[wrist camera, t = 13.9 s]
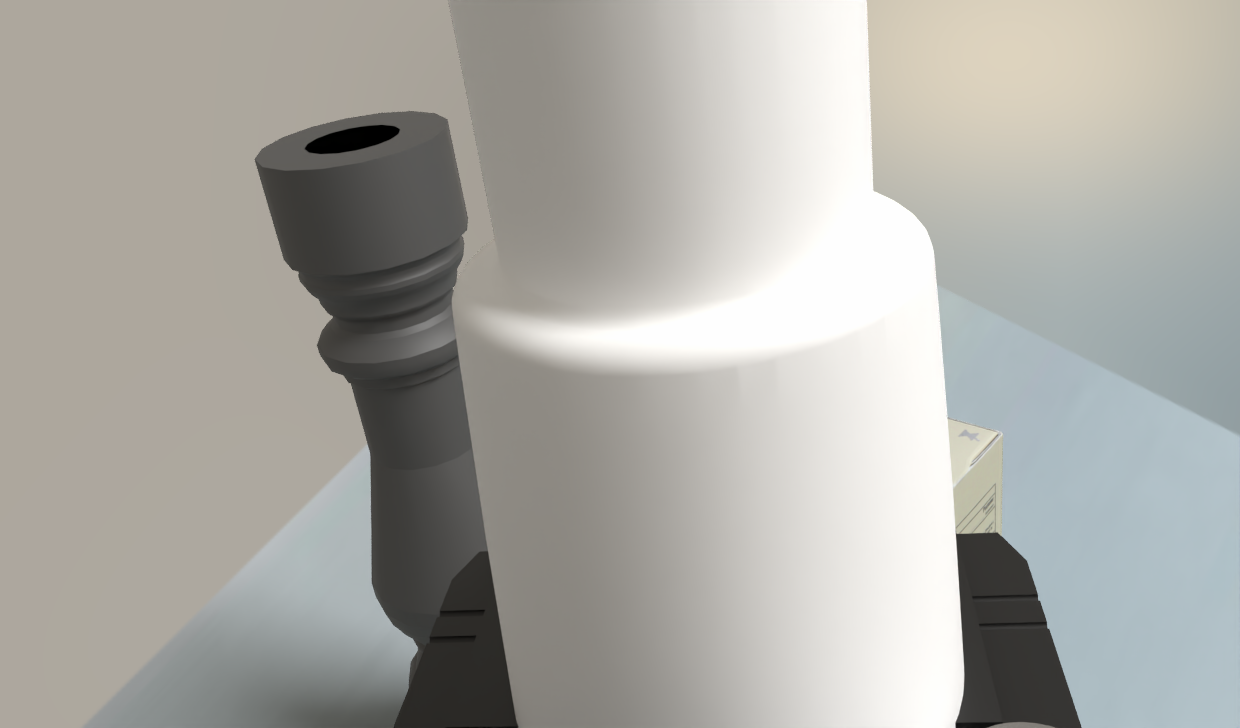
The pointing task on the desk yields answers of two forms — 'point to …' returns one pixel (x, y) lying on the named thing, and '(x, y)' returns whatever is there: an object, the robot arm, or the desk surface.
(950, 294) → the desk surface
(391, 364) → the candle holder
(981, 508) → the skincare box
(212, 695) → the desk surface
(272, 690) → the desk surface
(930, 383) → the cosmetic bottle
